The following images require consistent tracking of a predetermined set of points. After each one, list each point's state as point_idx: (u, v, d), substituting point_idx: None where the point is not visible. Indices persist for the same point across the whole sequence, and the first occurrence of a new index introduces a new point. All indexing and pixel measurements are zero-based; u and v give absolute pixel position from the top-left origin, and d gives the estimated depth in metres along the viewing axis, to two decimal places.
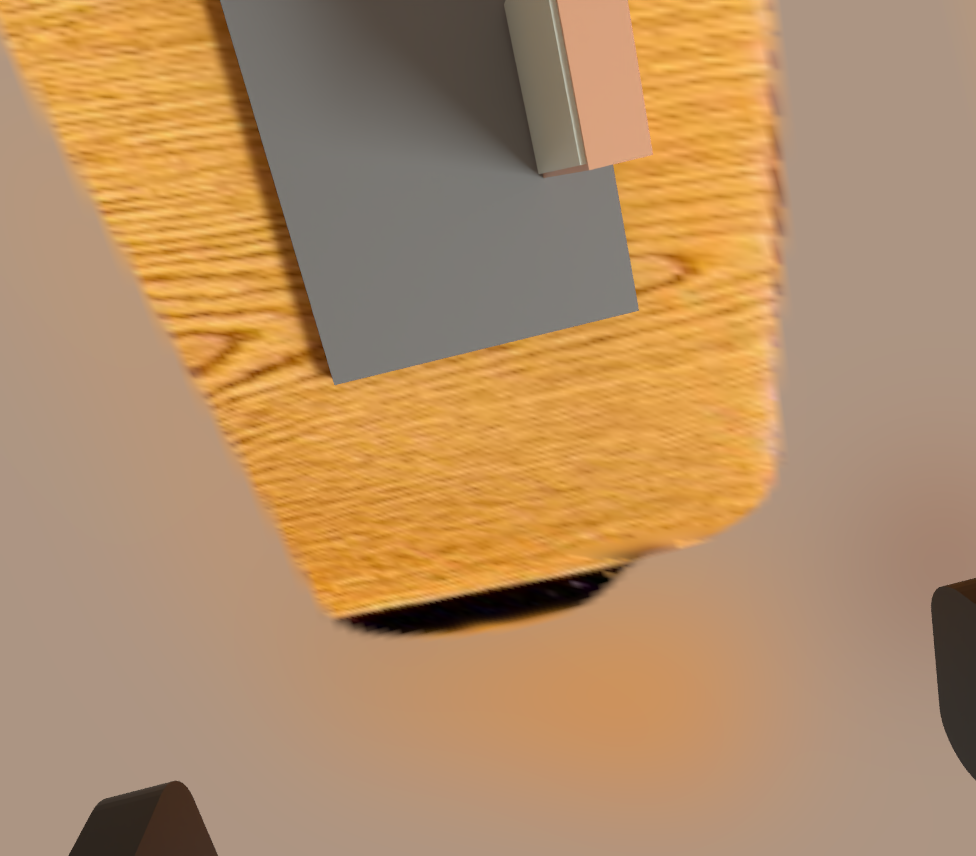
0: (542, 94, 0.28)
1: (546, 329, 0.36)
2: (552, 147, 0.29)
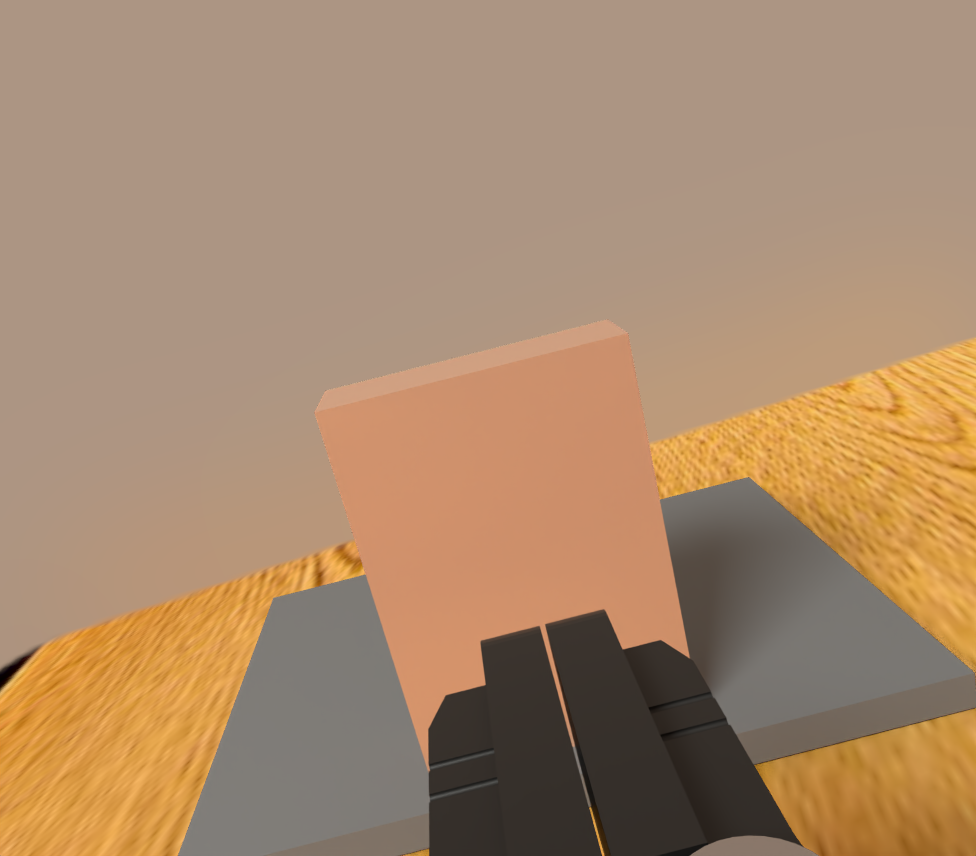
0: None
1: (218, 759, 0.23)
2: None
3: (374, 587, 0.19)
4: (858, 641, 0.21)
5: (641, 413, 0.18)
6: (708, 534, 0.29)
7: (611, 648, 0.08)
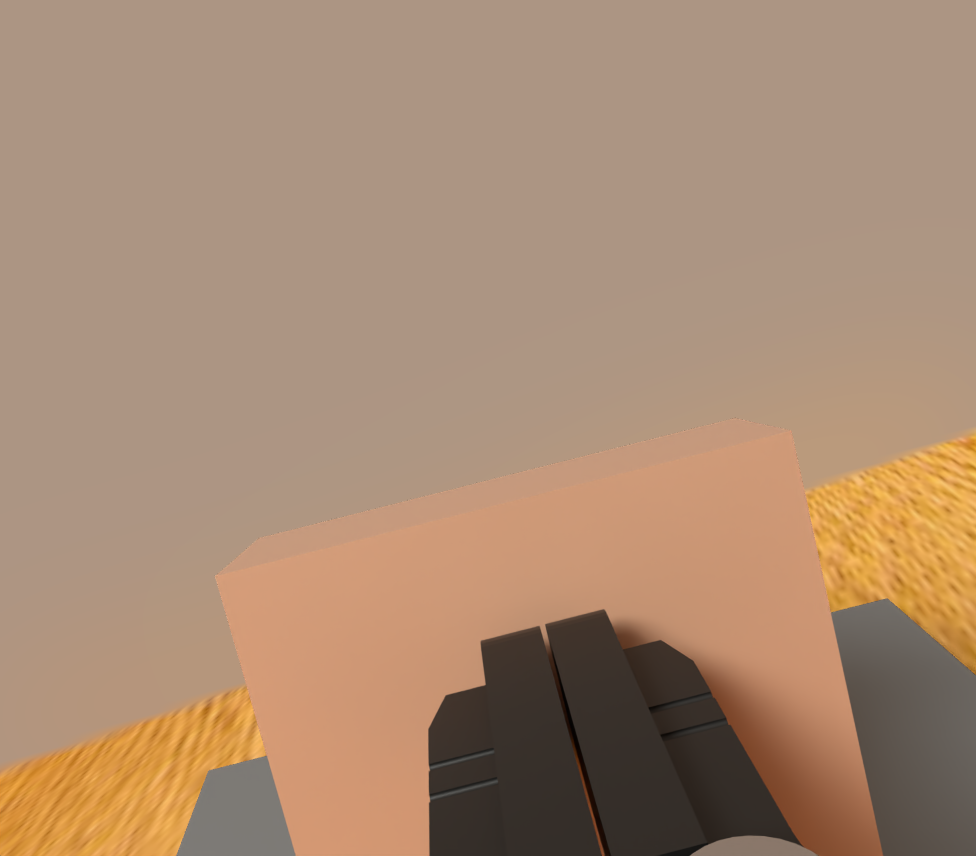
0: None
1: None
2: None
3: None
4: None
5: (820, 580, 0.10)
6: (853, 707, 0.19)
7: (610, 648, 0.08)
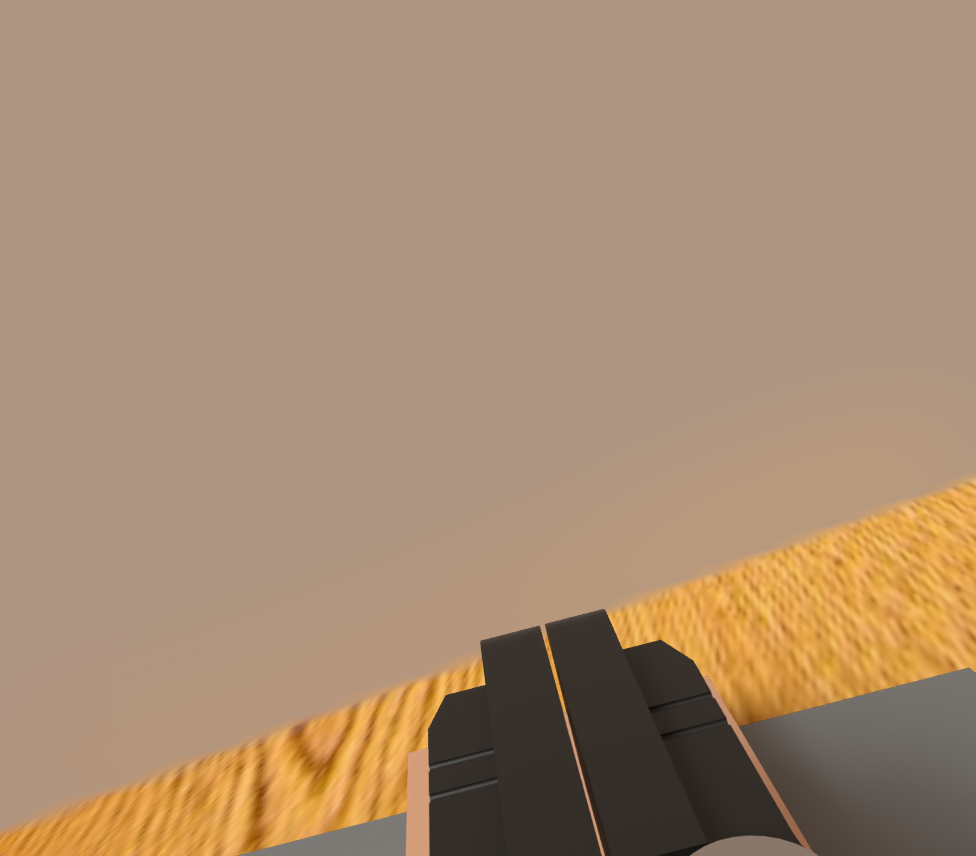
0: None
1: None
2: None
3: None
4: None
5: (737, 729, 0.16)
6: (948, 816, 0.16)
7: (611, 648, 0.08)
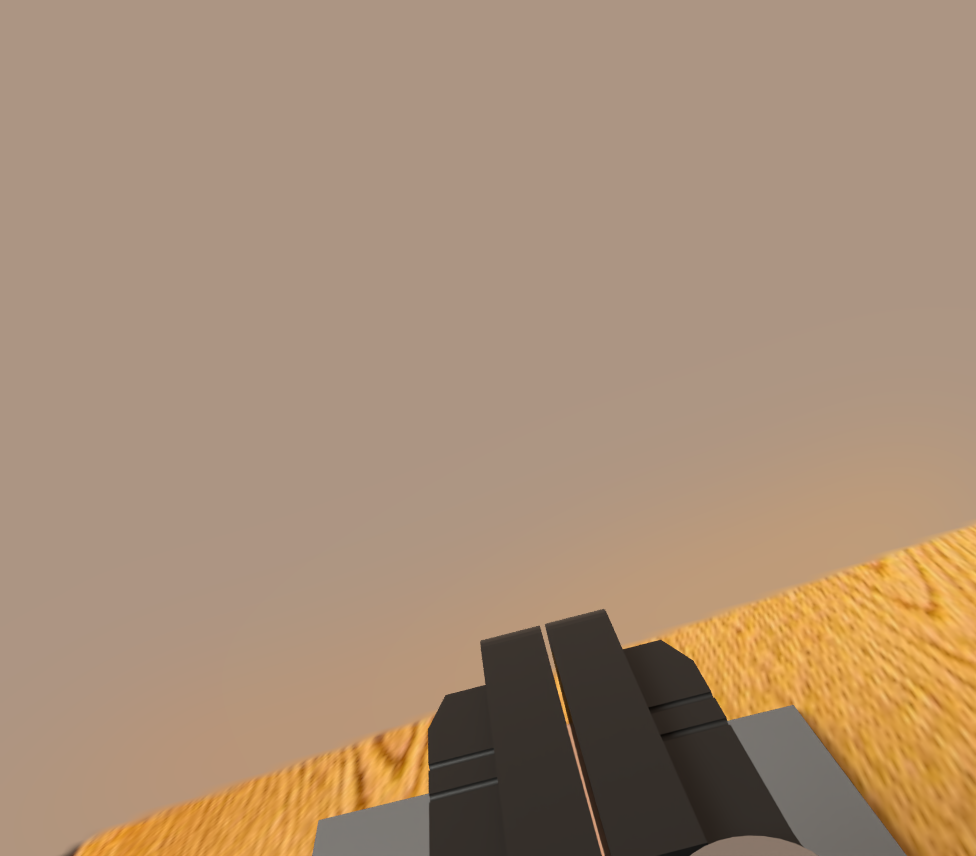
0: None
1: None
2: None
3: None
4: None
5: None
6: None
7: (611, 648, 0.08)
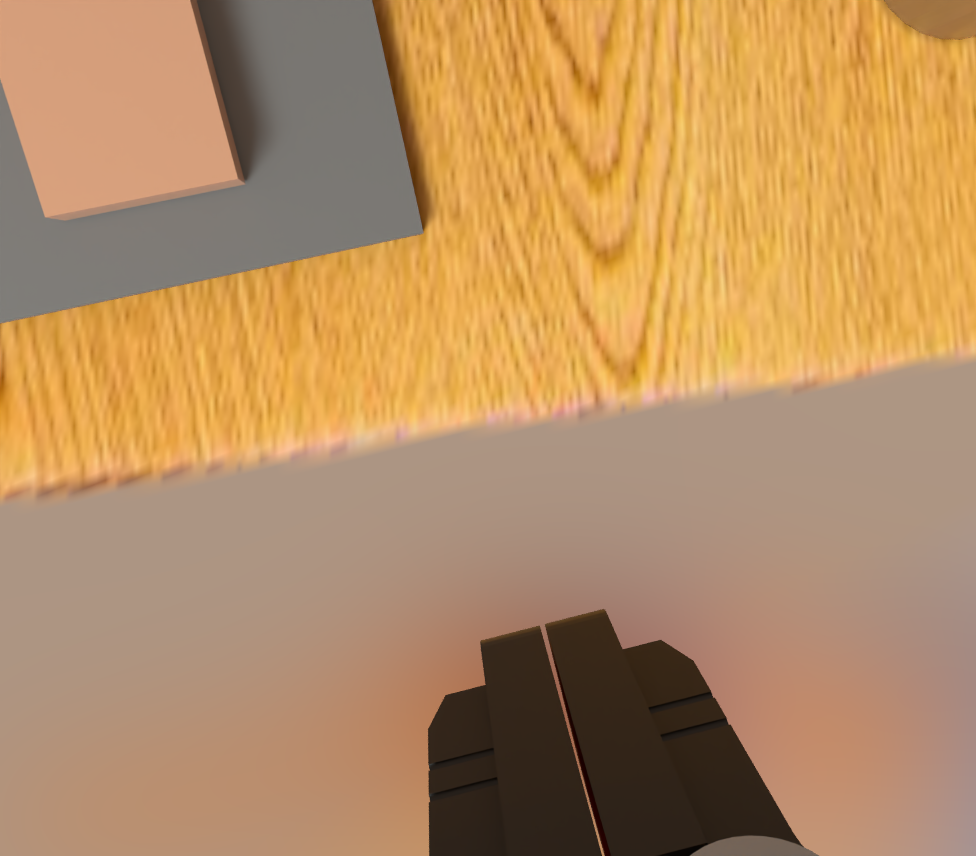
0: None
1: None
2: None
3: None
4: (370, 186, 0.33)
5: None
6: None
7: (611, 648, 0.08)
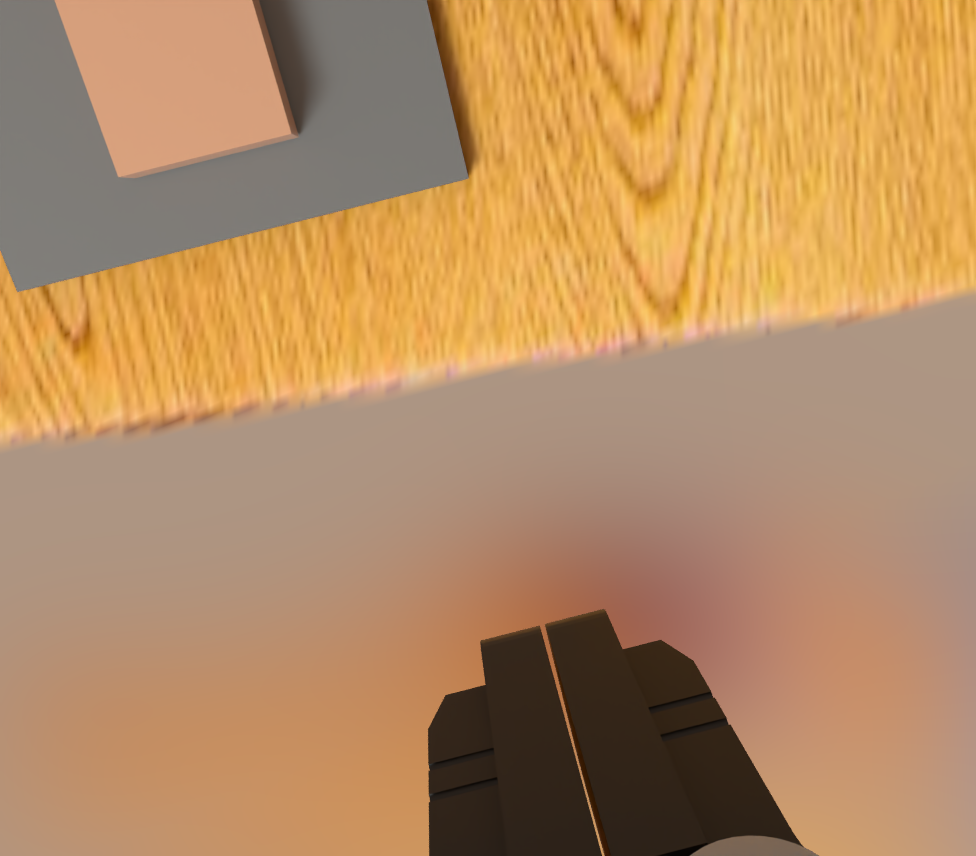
0: None
1: None
2: None
3: (65, 23, 0.30)
4: (417, 134, 0.34)
5: None
6: None
7: (611, 648, 0.08)
